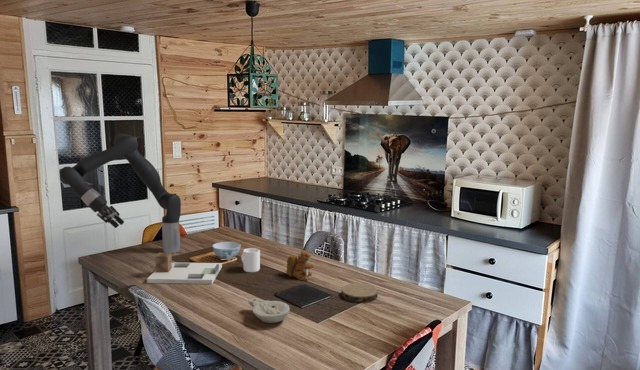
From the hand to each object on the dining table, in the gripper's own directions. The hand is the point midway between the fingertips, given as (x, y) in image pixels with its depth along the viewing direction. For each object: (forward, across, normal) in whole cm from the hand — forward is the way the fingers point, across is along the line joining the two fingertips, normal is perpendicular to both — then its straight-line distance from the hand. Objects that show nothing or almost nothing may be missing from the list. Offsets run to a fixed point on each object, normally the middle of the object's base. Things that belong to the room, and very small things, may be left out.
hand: (120, 225), depth 230 cm
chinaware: (+50, +26, -16) cm, 59 cm away
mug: (+60, +10, -26) cm, 66 cm away
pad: (+47, 0, -13) cm, 49 cm away
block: (+30, 0, +1) cm, 30 cm away
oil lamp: (+70, -48, -35) cm, 92 cm away
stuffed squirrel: (+78, 0, -44) cm, 90 cm away
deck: (+39, 0, -5) cm, 40 cm away
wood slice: (+98, -24, -63) cm, 119 cm away
